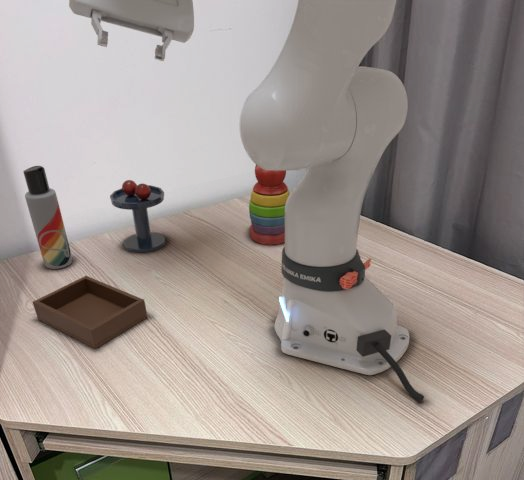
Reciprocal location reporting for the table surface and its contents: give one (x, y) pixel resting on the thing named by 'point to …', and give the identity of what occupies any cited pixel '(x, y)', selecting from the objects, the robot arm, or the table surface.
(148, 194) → the ball
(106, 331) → the walnut tray
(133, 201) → the footed dish
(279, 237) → the stacking bear
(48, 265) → the lotion bottle
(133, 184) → the ball
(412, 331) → the table surface
